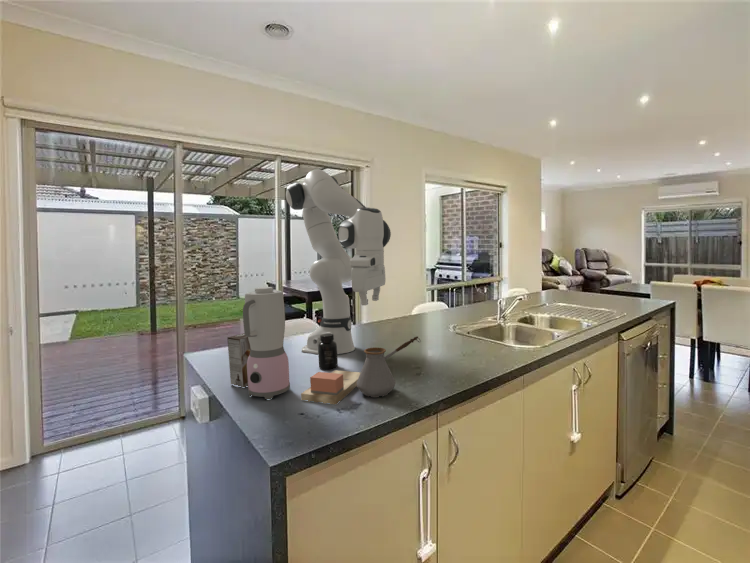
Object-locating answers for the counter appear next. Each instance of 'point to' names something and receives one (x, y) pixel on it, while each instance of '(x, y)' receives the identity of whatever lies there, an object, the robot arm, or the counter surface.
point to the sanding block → (326, 383)
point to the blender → (266, 342)
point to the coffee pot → (377, 372)
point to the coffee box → (238, 359)
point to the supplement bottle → (327, 352)
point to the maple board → (349, 385)
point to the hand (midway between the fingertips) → (370, 302)
